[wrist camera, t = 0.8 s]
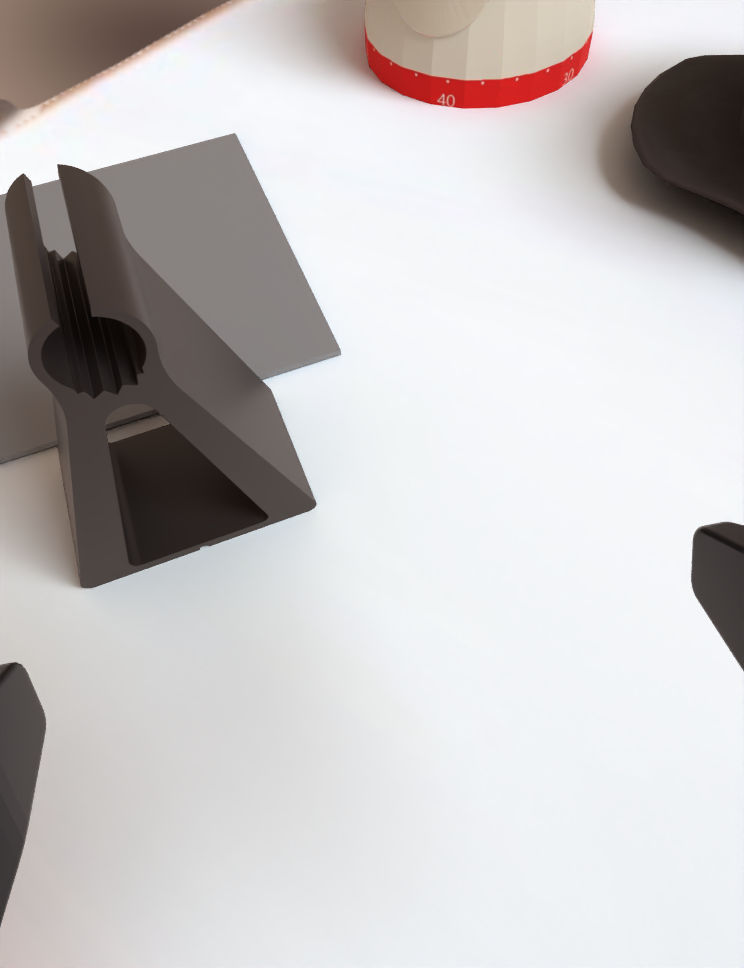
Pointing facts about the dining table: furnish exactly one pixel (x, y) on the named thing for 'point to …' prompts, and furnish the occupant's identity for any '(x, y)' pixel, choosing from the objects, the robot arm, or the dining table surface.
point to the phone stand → (142, 397)
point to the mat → (175, 274)
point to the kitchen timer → (477, 48)
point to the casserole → (696, 127)
